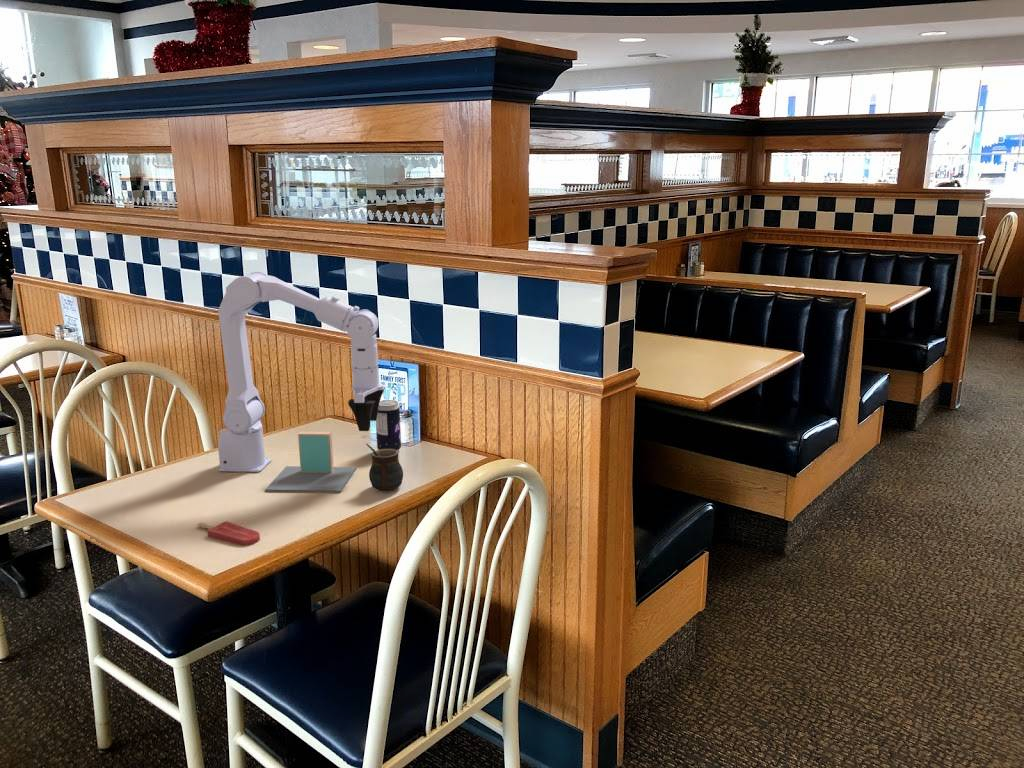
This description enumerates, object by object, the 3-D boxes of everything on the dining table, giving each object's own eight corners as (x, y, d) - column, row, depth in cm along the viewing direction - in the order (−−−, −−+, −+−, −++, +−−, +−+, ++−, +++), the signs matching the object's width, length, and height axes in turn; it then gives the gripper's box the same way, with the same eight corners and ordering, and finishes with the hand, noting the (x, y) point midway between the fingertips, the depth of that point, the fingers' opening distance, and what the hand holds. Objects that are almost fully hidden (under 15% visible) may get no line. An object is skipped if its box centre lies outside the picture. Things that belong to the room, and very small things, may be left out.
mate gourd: (403, 494, 170) (400, 448, 168) (366, 495, 170) (363, 450, 167) (405, 481, 177) (403, 437, 175) (370, 482, 177) (367, 438, 174)
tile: (300, 472, 181) (297, 434, 179) (302, 469, 183) (300, 431, 181) (331, 473, 181) (329, 434, 179) (333, 470, 183) (331, 432, 180)
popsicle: (206, 515, 157) (265, 532, 150) (207, 523, 157) (265, 540, 150) (187, 524, 153) (246, 541, 146) (188, 532, 153) (247, 550, 146)
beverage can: (399, 454, 194) (397, 406, 191) (375, 454, 194) (373, 406, 191) (402, 447, 200) (401, 399, 197) (379, 446, 200) (377, 399, 197)
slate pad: (265, 491, 172) (265, 489, 172) (286, 468, 186) (286, 466, 185) (340, 492, 171) (340, 490, 171) (356, 469, 185) (356, 467, 185)
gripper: (376, 374, 172) (379, 435, 176) (389, 359, 186) (391, 416, 190) (343, 374, 173) (346, 435, 176) (358, 358, 187) (361, 415, 190)
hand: (368, 425), depth 183 cm, fingers open, 7 cm apart
